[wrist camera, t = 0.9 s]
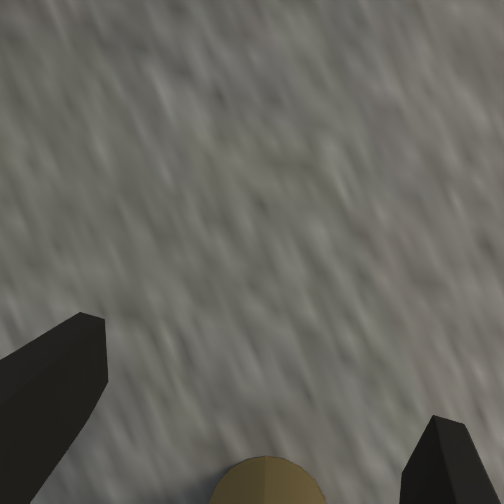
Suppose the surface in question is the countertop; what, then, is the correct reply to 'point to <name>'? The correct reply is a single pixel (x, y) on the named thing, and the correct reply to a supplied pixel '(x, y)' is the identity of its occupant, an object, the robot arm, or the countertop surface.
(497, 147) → the countertop surface
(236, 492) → the cork
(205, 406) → the countertop surface
